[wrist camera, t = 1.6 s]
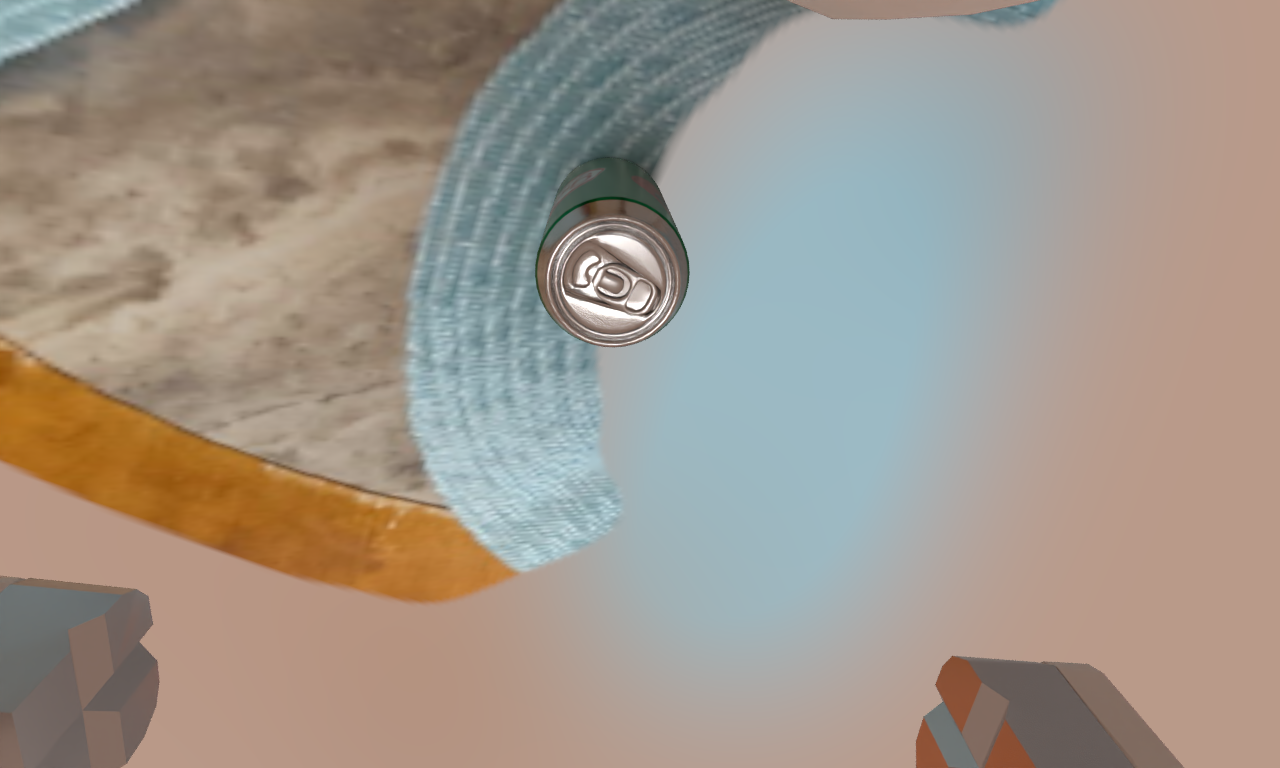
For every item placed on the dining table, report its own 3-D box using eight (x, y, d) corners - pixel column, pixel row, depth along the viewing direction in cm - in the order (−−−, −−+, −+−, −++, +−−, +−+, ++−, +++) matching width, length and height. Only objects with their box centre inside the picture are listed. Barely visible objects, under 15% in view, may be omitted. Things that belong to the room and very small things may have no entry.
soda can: (582, 135, 33) (573, 172, 22) (683, 187, 35) (722, 247, 23) (536, 237, 35) (506, 319, 24) (633, 284, 36) (648, 382, 25)
